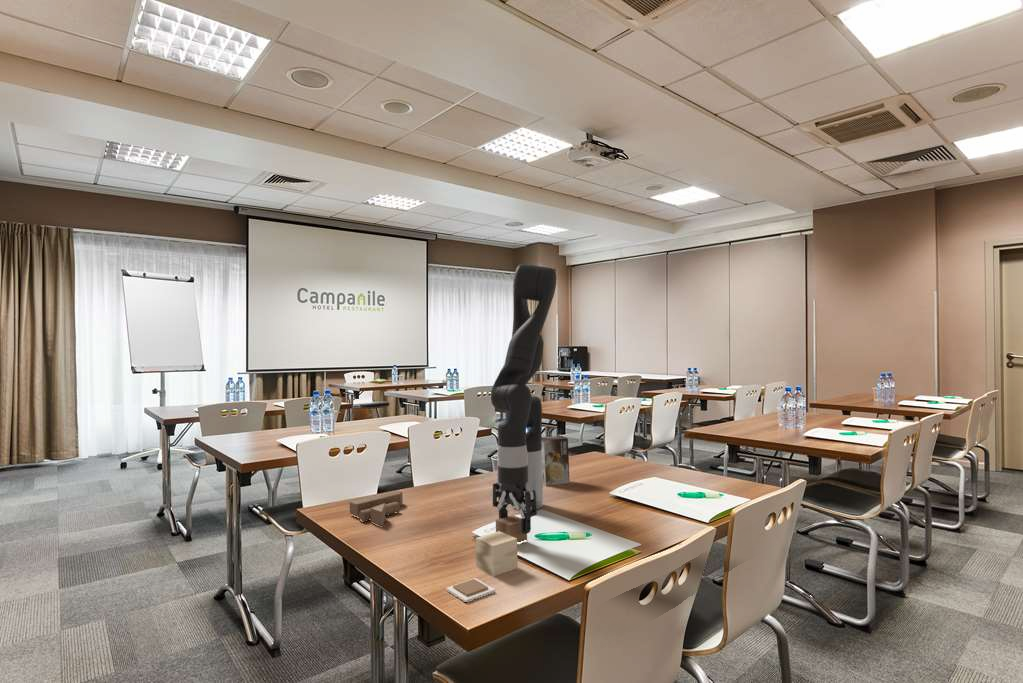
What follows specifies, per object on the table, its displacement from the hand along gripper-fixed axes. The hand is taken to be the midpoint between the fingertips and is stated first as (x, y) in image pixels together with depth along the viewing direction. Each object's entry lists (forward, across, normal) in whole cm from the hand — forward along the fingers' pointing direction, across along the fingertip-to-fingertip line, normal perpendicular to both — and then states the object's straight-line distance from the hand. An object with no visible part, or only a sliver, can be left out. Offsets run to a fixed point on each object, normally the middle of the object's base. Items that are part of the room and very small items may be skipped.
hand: (514, 529), depth 133 cm
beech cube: (+4, -9, +12) cm, 16 cm away
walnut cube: (+3, +1, 0) cm, 4 cm away
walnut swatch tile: (+4, -14, +24) cm, 28 cm away
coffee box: (+3, +35, -48) cm, 59 cm away
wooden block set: (+4, +43, +12) cm, 45 cm away
